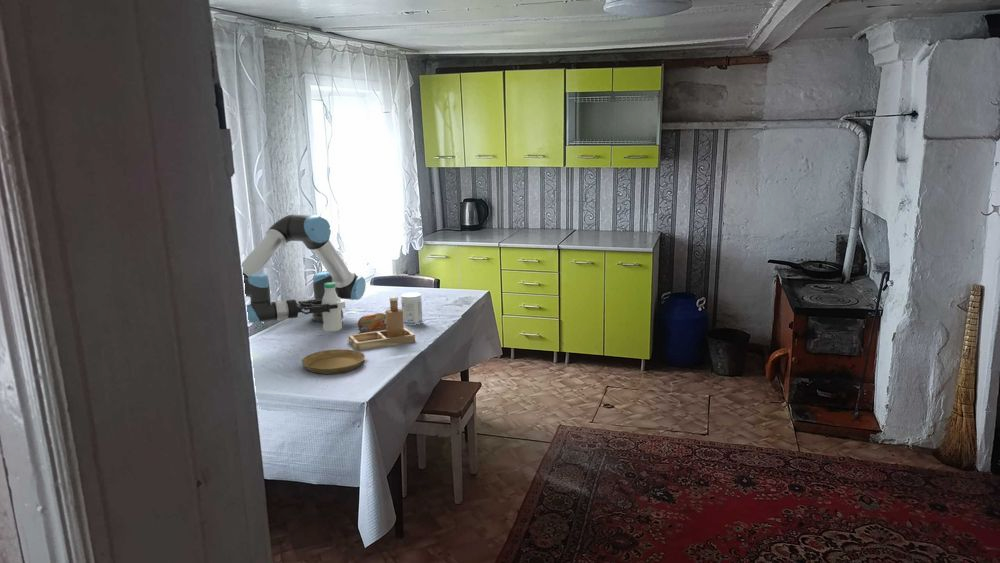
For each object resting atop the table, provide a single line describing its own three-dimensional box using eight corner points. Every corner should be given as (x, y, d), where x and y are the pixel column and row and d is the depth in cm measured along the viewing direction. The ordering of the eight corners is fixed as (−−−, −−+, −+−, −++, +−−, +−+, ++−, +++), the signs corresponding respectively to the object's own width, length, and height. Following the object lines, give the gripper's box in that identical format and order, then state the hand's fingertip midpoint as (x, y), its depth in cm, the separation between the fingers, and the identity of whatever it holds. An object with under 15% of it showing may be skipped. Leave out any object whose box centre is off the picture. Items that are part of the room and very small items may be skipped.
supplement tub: (415, 320, 327) (414, 291, 324) (426, 324, 320) (425, 294, 316) (398, 324, 321) (397, 294, 318) (409, 328, 314) (407, 297, 310)
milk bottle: (345, 328, 285) (343, 282, 280) (332, 333, 278) (329, 286, 274) (332, 325, 289) (329, 280, 284) (319, 330, 282) (316, 284, 278)
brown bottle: (384, 338, 295) (382, 296, 291) (401, 336, 298) (399, 294, 294) (389, 343, 288) (387, 300, 284) (406, 340, 291) (404, 298, 287)
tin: (360, 335, 303) (359, 317, 301) (357, 334, 305) (356, 316, 304) (389, 329, 312) (388, 312, 311) (386, 328, 315) (385, 310, 313)
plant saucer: (339, 352, 280) (339, 344, 280) (377, 364, 265) (377, 356, 265) (289, 367, 262) (289, 359, 262) (327, 381, 247) (326, 372, 247)
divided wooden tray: (348, 344, 291) (348, 335, 290) (405, 335, 302) (404, 327, 301) (357, 352, 279) (356, 343, 278) (415, 343, 290) (414, 334, 289)
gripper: (283, 312, 283) (337, 305, 293) (291, 324, 265) (349, 316, 275) (281, 295, 281) (336, 289, 291) (290, 306, 264) (348, 299, 274)
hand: (342, 302), depth 283 cm, fingers closed on milk bottle, 7 cm apart
